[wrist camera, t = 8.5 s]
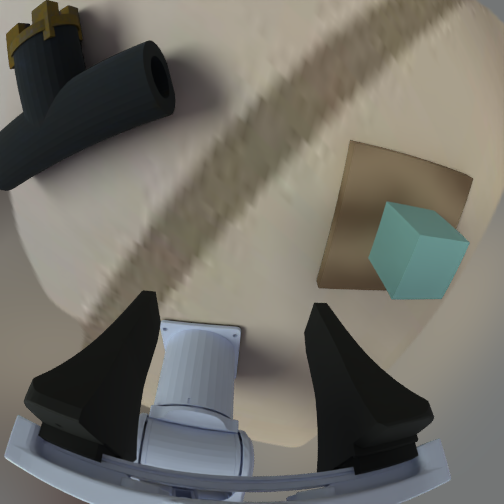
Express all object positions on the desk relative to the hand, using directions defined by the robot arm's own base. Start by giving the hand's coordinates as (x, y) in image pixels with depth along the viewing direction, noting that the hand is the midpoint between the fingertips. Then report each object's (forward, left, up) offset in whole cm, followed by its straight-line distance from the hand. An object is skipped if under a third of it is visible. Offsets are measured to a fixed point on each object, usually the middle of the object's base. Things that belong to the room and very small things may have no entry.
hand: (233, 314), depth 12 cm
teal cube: (+1, -13, -8) cm, 15 cm away
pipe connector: (+11, +13, -10) cm, 20 cm away
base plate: (+1, -13, -9) cm, 16 cm away
